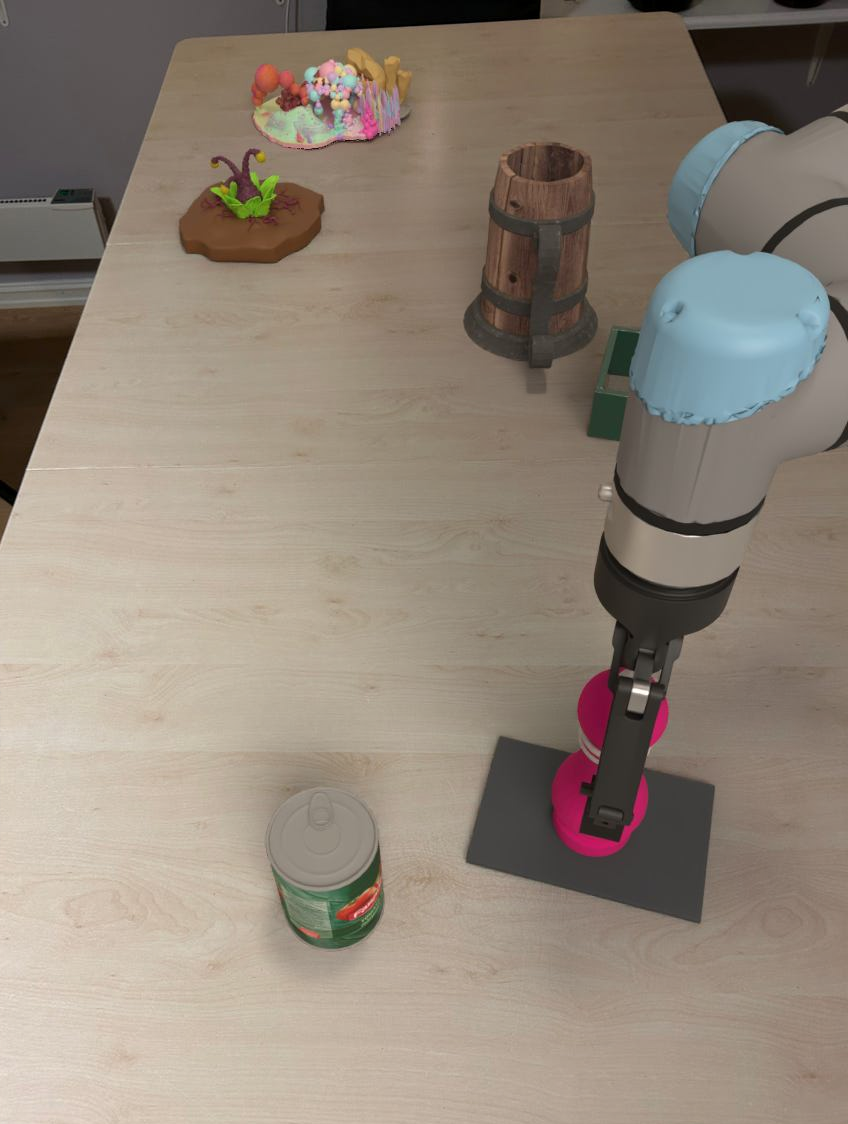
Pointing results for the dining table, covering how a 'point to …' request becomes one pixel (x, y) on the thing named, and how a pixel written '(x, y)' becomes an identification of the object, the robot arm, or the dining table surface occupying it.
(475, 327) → the tankard
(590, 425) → the holder
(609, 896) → the mat
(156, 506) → the dining table surface
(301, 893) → the canned tomato
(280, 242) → the plant
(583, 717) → the pepper mill
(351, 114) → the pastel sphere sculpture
